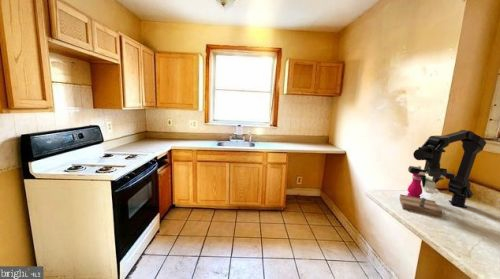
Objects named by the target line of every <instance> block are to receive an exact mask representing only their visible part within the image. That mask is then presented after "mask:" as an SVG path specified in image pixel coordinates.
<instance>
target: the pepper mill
mask: <svg viewBox="0 0 500 279" xmlns="http://www.w3.org/2000/svg"><path fill="white" fill-rule="evenodd" d="M417 167H418V168H419V169H422V166H420V165H418V166H417ZM411 177H412V181H411V183H410V184H409V185H408V186H407V191H408V192H407V195H406V196H411V197H416V198H421V195H422V194H423V188H422V187H421V185H422V181H421V177H420V176H419V175H418V174H413V173H411Z"/></svg>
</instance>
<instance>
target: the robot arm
mask: <svg viewBox="0 0 500 279" xmlns="http://www.w3.org/2000/svg"><path fill="white" fill-rule="evenodd" d="M459 141H460V142H462V144H461V147H462V150H463V154H462V157H461V160H460V163H459V166H458V170H457V172H456V174H454V173H453V172H451V171H448V169H447V168H443V167H442V168H441V160H442V154H443V153H446V151H447V150H445V148H447V147H449V145H450V144H452V143H456V142H459ZM486 145H487V141H486V140H485V138H483V137H482V136H480V135H478V134H476V133H474V132H473V131H472V130H466V129H461V130H458V131H456V132H452V133H451V132H450V133H449V134H444V135H430V136H429V137H428V138H427V139H426V140H425V142H424V143H423V144H422V145H421V146H419V147H418V148H417V149H415V150H414V151H413V158H414V160H417V161H425V164H424V168H423V169H422V168H421V169H419V168H418V166H413V165H409V166H408V169H407V172H409V173H410V174H412V173H413V174H418V175H419V176H420V177H421V185H423V187H424V186H425V178H426V177H427V176H428V177H430V178H431V179H432V180H433V181H434V182H435V185H436V184H437V183H438V182H439V181H443V180H444V178H445V179H447V180H449V182H448V184H447V187H448V188H447V189H448V192H449V193H452V195H451V199H449V200H448V202H449V203H450V204H451V206H456V207H461V208H465V209H467V208H468V206H467V205H466V201H467V199H472V197H473V196H474V193H473V191H472V190H471V182H470V180H469V177H470V175H471V172H472V169H473V166H474V163H475V159H476V157H477V155H478V154H479V153H481V152H482V151H483V150H484V148H485V146H486ZM413 174H412V175H413Z"/></svg>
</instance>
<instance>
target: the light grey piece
mask: <svg viewBox="0 0 500 279" xmlns="http://www.w3.org/2000/svg"><path fill="white" fill-rule="evenodd" d="M421 187H422V190H424V192H425V193H426V194H431V195H434V194H439V192H440V190H438V188H437V187H436V184H435V182H434V181H433V180H432V177H430V176H426V178H425V186H424V187H423V185H422V184H421Z"/></svg>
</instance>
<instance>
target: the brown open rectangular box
mask: <svg viewBox="0 0 500 279" xmlns="http://www.w3.org/2000/svg"><path fill="white" fill-rule="evenodd" d="M399 202H400V206H401V208H402V210H404V211H405V210H406V211H410V212H415V213H418V214H419V213H420V214H422V215H423V214H425V215H429V216H433V217H438V218H442V214H443V211H442V210H441V208H440V207H439V205H438V204H437V202H436V201H435V200H433V199H432V200H431V199H427V198H425V197H420V198H416V197H411V196H407V195H406V194H399Z"/></svg>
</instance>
